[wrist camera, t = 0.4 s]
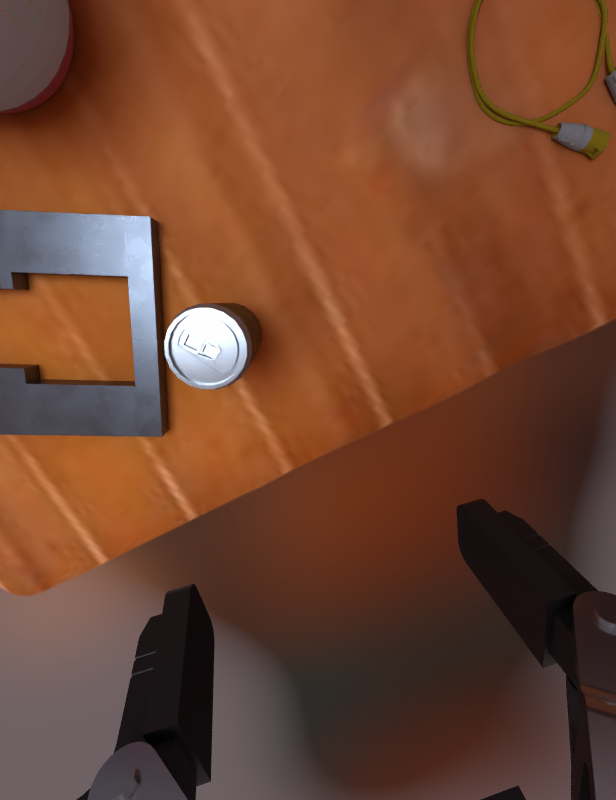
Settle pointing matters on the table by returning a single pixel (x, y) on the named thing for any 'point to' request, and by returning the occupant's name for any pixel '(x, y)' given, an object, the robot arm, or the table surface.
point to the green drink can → (212, 344)
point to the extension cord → (564, 133)
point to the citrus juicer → (33, 51)
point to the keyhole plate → (139, 261)
